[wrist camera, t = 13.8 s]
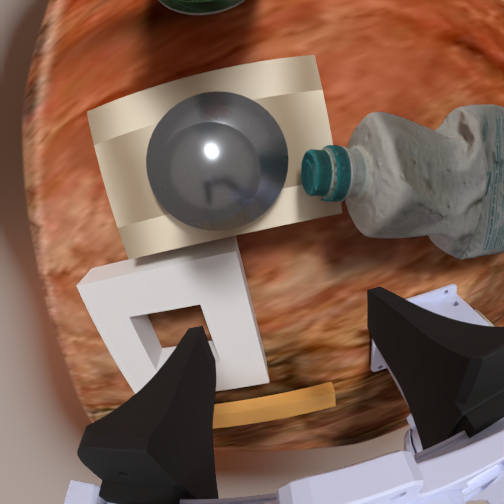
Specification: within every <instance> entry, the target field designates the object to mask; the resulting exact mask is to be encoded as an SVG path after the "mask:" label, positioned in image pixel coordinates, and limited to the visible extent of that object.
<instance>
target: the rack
mask: <svg viewBox="0 0 504 504" xmlns="http://www.w3.org/2000/svg"><path fill="white" fill-rule="evenodd" d="M214 91H220V92H230V93H235V94H239V95H242V96H245V97H247V98H249V99H251V100H253V101H255V102H256V103H258V104H260V105H261V106H262V107H263V108H265V109H266V110H267V111H268V112H269V113H270V114H271V115H272V116H273V118H274V119H275V120H276V122H277V123H278V125H279V127H280V128H281V130H282V132H283V135H284V138H285V140H286V144H287V149H288V159H289V161H288V172H287V177H286V180H285V183H284V186H283V188H282V190H281V192H280V194H279V196H278V198H277V199H276V201H275V202H274V203H273V204H272V206H271V207H270V208H269V209H268V210H267V211H266V212H265V213H264V214H262V215H261V216H260V217H258V218H257V219H255V220H254V221H252V222H250V223H248V224H246V225H244V226H241V227H238V228H235V229H230V230H223V231H209V230H202V229H198V228H195V227H192V226H189V225H187V224H184V223H183V222H181V221H179V220H177V219H176V218H175V217H173V216H172V215H171V214H170V213H168V212H167V211H166V210H165V209H164V208H163V206H162V205H161V204H160V203H159V201H158V200H157V198H156V196H155V195H154V193H153V191H152V188H151V186H150V183H149V180H148V176H147V169H146V155H147V148H148V144H149V141H150V138H151V135H152V133H153V131H154V129H155V127H156V126H157V124H158V123H159V121H160V120H161V119H162V117H163V116H164V115H165V114H166V113H167V112H168V111H169V110H170V109H171V108H173V107H174V106H175V105H177V104H178V103H180V102H181V101H183V100H185V99H187V98H189V97H192V96H194V95H197V94H201V93H206V92H214ZM87 115H88V120H89V125H90V129H91V134H92V138H93V142H94V146H95V151H96V155H97V159H98V162H99V166H100V170H101V174H102V177H103V181H104V184H105V188H106V191H107V195H108V198H109V201H110V205H111V208H112V211H113V214H114V217H115V221H116V224H117V227H118V230H119V233H120V236H121V239H122V241H123V244H124V247H125V250H126V253H127V256H128V258H129V259H134V258H138V257H142V256H147V255H151V254H155V253H160V252H164V251H168V250H173V249H177V248H181V247H186V246H190V245H195V244H199V243H204V242H208V241H213V240H217V239H222V238H226V237H231V236H236V235H240V234H245V233H249V232H254V231H259V230H263V229H268V228H273V227H278V226H282V225H287V224H292V223H297V222H302V221H306V220H311V219H316V218H321V217H326V216H331V215H336V214H341V213H342V206H341V201H338V202H329V201H328V202H326V201H321V199H322V196H309V195H307V193H306V192H305V190H304V188H303V186H302V180H301V163H302V160H303V157H304V154H305V152H306V151H308V150H310V149H314V150H322V149H323V148H324V147H325V146H327V145H333V143H332V137H331V131H330V126H329V120H328V115H327V110H326V105H325V100H324V95H323V90H322V85H321V81H320V76H319V72H318V68H317V63H316V59H315V55H309V56H298V57H289V58H281V59H274V60H267V61H260V62H254V63H248V64H243V65H237V66H232V67H227V68H223V69H218V70H213V71H209V72H205V73H201V74H197V75H193V76H189V77H185V78H182V79H178V80H174V81H171V82H168V83H164V84H161V85H158V86H155V87H151V88H148V89H145V90H142V91H139V92H137V93H134V94H131V95H128V96H125V97H123V98H120V99H117V100H115V101H112V102H110V103H107V104H105V105H102V106H100V107H97V108H95V109H92V110H90V111H88V112H87Z"/></svg>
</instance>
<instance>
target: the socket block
mask: <svg viewBox="0 0 504 504" xmlns="http://www.w3.org/2000/svg"><path fill="white" fill-rule="evenodd" d="M77 288H78V290H79V293H80V295H81V297H82V299H83V301H84V303H85V305H86V307H87V309H88V312H89V314H90V316H91V318H92V320H93V322H94V324H95V325H96V327H97V329H98V331H99V333H100V335H101V337H102V339H103V341H104V342H105V344H106V346H107V348H108V350H109V351H110V353H111V355H112V357H113V358H114V360H115V362H116V364H117V365H118V367H119V369H120V370H121V372H122V374H123V375H124V377H125V378H126V380H127V382H128V383H129V385H130V386H131V388H132V390H133V391H134V393H135V394H136V393H137V392H138V391H140V390H141V389H142V388H143V387H144V386H145V385H146V384H147V383H148V382H149V381H150V380H151V379H152V377H153V376H154V375H155V374H156V373H157V372H158V371H159V369H160V368H161V367H162V366H163V364H164V363H165V362H166V361H167V359H168V358H169V357H170V355H171V354H172V352H173V351H174V350H175V348H176V347H177V346H175V347H168V348H162V346H161V344H160V342H159V340H158V338H157V335H156V333H155V331H154V329H153V327H152V324H151V322H150V320H149V318H148V315H147V314H150V313H156V312H161V311H167V310H173V309H178V308H184V307H189V306H195V305H201V308H202V311H203V314H204V317H205V320H206V323H207V325H208V328H209V331H210V334H211V337H212V339H213V341H208V342H209V345H210V347H211V350H212V353H213V355H214V358H215V360H216V391H221V390H228V389H235V388H241V387H247V386H253V385H259V384H264V383H269V375H268V368H267V361H266V356H265V352H264V348H263V344H262V340H261V336H260V332H259V328H258V324H257V320H256V316H255V312H254V308H253V304H252V300H251V296H250V292H249V288H248V284H247V280H246V276H245V271H244V267H243V263H242V259H241V255H240V251H239V247H238V242H237V238H236V236H231V237H226V238H222V239H217V240H213V241H208V242H204V243H199V244H195V245H190V246H186V247H181V248H177V249H173V250H168V251H164V252H160V253H155V254H151V255H147V256H142V257H138V258H134V259H129V260H124V261H120V262H116V263H112V264H108V265H103V266H99V267H95V268H92V269H91V270H90V271H89V272H88V273H87V274H86V275H85V277H84V278H83V279H82V280H81V281H80V282H79V283H78V285H77Z"/></svg>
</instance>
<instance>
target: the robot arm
mask: <svg viewBox="0 0 504 504" xmlns="http://www.w3.org/2000/svg"><path fill="white" fill-rule="evenodd" d="M456 292H457V286H456V285H455V284H450V285H447V286H444V287H442V288H439V289H436V290H433V291H430V292H427V293H423V294H420V295H417V296H414V297H411V298H408V299H404V298H402V297H400V296H398V295H396V294H394V293H392V292H390V291H388V290H386V289H384V288H382V287H376V288H373V289H369V290H367V298H368V329H369V332H370V334H371V336H372V350H371V370H372V371H373V372H376V371H379V370H382V369H385V368H387V369H388V370H389V372H390V374H391V376H392V378H393V379H394V381H395V383H396V385H397V387H398V388H399V390H400V392H401V394H402V396H403V398H404V399H405V401H406V403H407V405H408V407H409V409H410V411H411V414H410V415H409V416H408V417H407V418H406V419H407V421H408V423H409V425H410V427H411V429H409V430H408V431H407V432H406V434H405V437H404V451H400V450H398V451H395V452H391V453H387V454H383V455H381V456H378V457H375V458H372V459H369V460H366V461H362V462H359V463H356V464H352V465H349V466H345V467H342V468H338V469H334V470H330V471H326V472H322V473H318V474H313V475H309V476H306V477H302V478H299V479H295V480H292V481H290V482H288V483H286V484H285V485H283V486H281V487H280V488H279V489H278V491H277V493H273V494H266V495H258V496H249V497H238V498H224V499H219V498H218V491H217V483H216V474H215V463H214V449H213V415H214V404H215V393H216V360H215V358H214V355H213V353H212V350H211V347H210V345H209V342H208V339H207V337H206V334H205V331H204V328H203V326H200V327H194V328H189V329H188V331H187V332H186V333H185V335H184V336H183V338H182V339H181V341H180V342H179V344H178V345H177V347H176V348H175V350H174V351H173V352H172V354H171V355H170V357H169V358H168V359H167V361H166V362H165V363H164V364H163V366H162V367H161V368H160V369H159V371H158V372H157V373H156V374H155V375H154V376H153V377H152V379H151V380H150V381H149V382H148V383H147V384H146V385H145V386H144V387H143V388H142V389H141V390H140V391H138V392H137V393H136V394H135V395H134V396H132V397H131V398H130V399H129V400H128V401H127V402H125V403H124V404H123V405H121V406H120V407H118V408H117V409H115V410H114V411H112V412H111V413H109V414H108V415H106V416H105V417H103V418H101V419H99V420H97V421H95V422H94V423H92V424H90V425H88V426H86V429H85V431H84V434H83V437H82V440H81V443H80V445H79V448H78V456H79V458H80V460H81V461H82V462H83V464H84V465H85V466H87V467H88V468H89V469H90V470H91V471H92V472H93V473H94V474H96V475H97V476H98V477H99V478H100V479H102V484H101V487H100V486H98V485H96V484H92V483H88V482H82V481H77V480H71V482H70V485H69V488H68V492H67V495H66V499H65V502H64V504H466V502H467V501H476V500H486V501H487V503H488V504H504V327H493V326H490V325H489V324H488V323H487V322H486V321H485V320H484V319H483V318H482V317H481V316H480V315H479V314H478V313H477V312H476V311H475V310H474V309H472V308H471V307H470V306H469V305H468V304H467V303H466V302H465V301H464V300H463V299H462V298H461V297H459V296H458V295H457V294H456Z"/></svg>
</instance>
